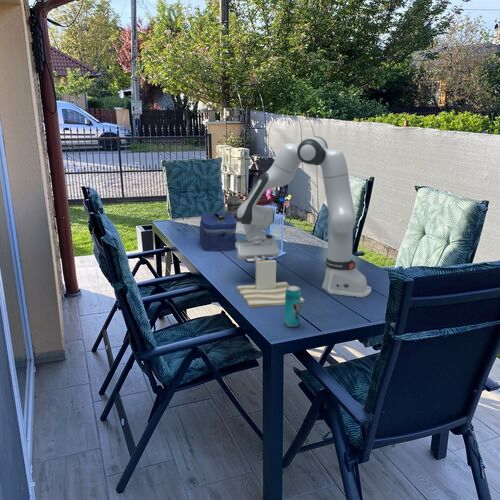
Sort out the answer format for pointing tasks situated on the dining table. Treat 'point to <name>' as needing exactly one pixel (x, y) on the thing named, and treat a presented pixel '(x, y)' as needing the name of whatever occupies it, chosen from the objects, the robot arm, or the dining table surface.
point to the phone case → (252, 260)
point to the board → (264, 295)
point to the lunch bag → (218, 232)
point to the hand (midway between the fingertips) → (260, 265)
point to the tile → (265, 274)
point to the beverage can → (292, 306)
